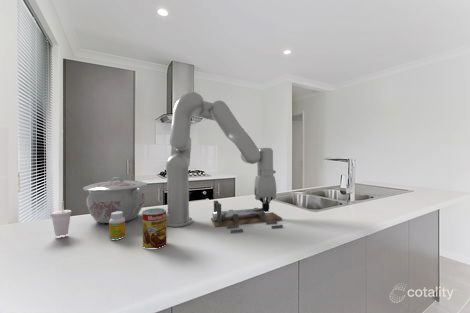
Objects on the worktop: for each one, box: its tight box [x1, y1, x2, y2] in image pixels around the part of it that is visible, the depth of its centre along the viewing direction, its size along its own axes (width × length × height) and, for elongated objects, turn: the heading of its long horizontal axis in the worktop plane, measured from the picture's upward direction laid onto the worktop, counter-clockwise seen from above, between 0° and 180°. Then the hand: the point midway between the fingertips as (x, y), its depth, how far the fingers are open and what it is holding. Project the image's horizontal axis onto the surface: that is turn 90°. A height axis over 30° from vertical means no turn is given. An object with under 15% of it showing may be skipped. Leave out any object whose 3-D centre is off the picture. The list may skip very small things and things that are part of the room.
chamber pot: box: [82, 176, 148, 224], centre depth 108 cm, size 28×28×21 cm
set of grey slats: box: [226, 221, 284, 234], centre depth 96 cm, size 23×6×1 cm, turn 107°
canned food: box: [141, 207, 168, 248], centre depth 79 cm, size 8×8×12 cm
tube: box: [212, 207, 265, 221], centre depth 105 cm, size 24×4×4 cm, turn 106°
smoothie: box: [50, 200, 72, 237], centre depth 87 cm, size 6×6×14 cm
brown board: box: [210, 200, 283, 228], centre depth 106 cm, size 32×10×9 cm, turn 107°
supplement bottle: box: [108, 211, 126, 240], centre depth 85 cm, size 5×5×10 cm
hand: (265, 211), depth 109 cm, fingers closed
